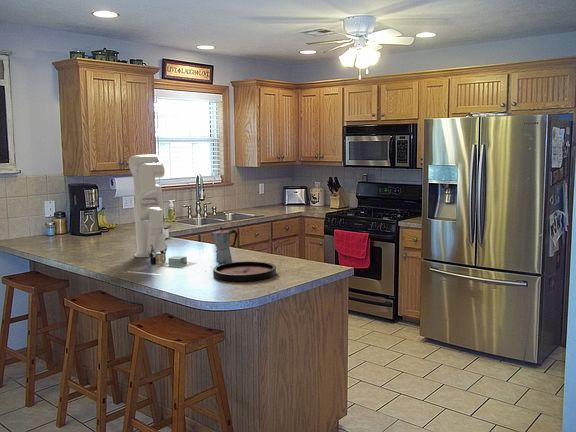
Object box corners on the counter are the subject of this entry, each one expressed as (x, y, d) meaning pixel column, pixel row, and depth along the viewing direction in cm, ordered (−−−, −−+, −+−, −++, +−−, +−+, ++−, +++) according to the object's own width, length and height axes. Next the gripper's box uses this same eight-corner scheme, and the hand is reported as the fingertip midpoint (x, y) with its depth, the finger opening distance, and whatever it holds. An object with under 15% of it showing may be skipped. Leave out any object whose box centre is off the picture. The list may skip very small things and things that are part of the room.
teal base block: (176, 262, 307) (175, 255, 306) (187, 263, 304) (186, 256, 304) (168, 265, 301) (168, 258, 300) (179, 266, 298) (179, 259, 297)
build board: (173, 262, 313) (173, 260, 312) (198, 264, 306) (198, 262, 306) (157, 268, 299) (157, 266, 299) (182, 270, 292) (182, 268, 292)
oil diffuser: (175, 241, 386) (174, 217, 384) (141, 241, 387) (140, 217, 385) (183, 235, 411) (182, 212, 409) (151, 235, 412) (150, 213, 410)
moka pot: (209, 262, 312) (207, 226, 310) (235, 259, 318) (234, 224, 315) (213, 265, 304) (211, 229, 301) (240, 262, 309) (239, 227, 306)
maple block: (157, 263, 311) (156, 253, 310) (164, 264, 309) (164, 253, 308) (151, 265, 307) (151, 254, 306) (159, 266, 305) (158, 255, 304)
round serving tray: (241, 278, 257) (200, 268, 279) (242, 286, 258) (200, 276, 279) (288, 266, 280) (246, 258, 301) (289, 274, 280) (247, 266, 302)
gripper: (160, 228, 315) (162, 259, 317) (140, 233, 299) (142, 265, 301) (171, 229, 312) (173, 260, 314) (152, 234, 296) (153, 266, 298)
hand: (158, 262), depth 308 cm, fingers open, 8 cm apart
